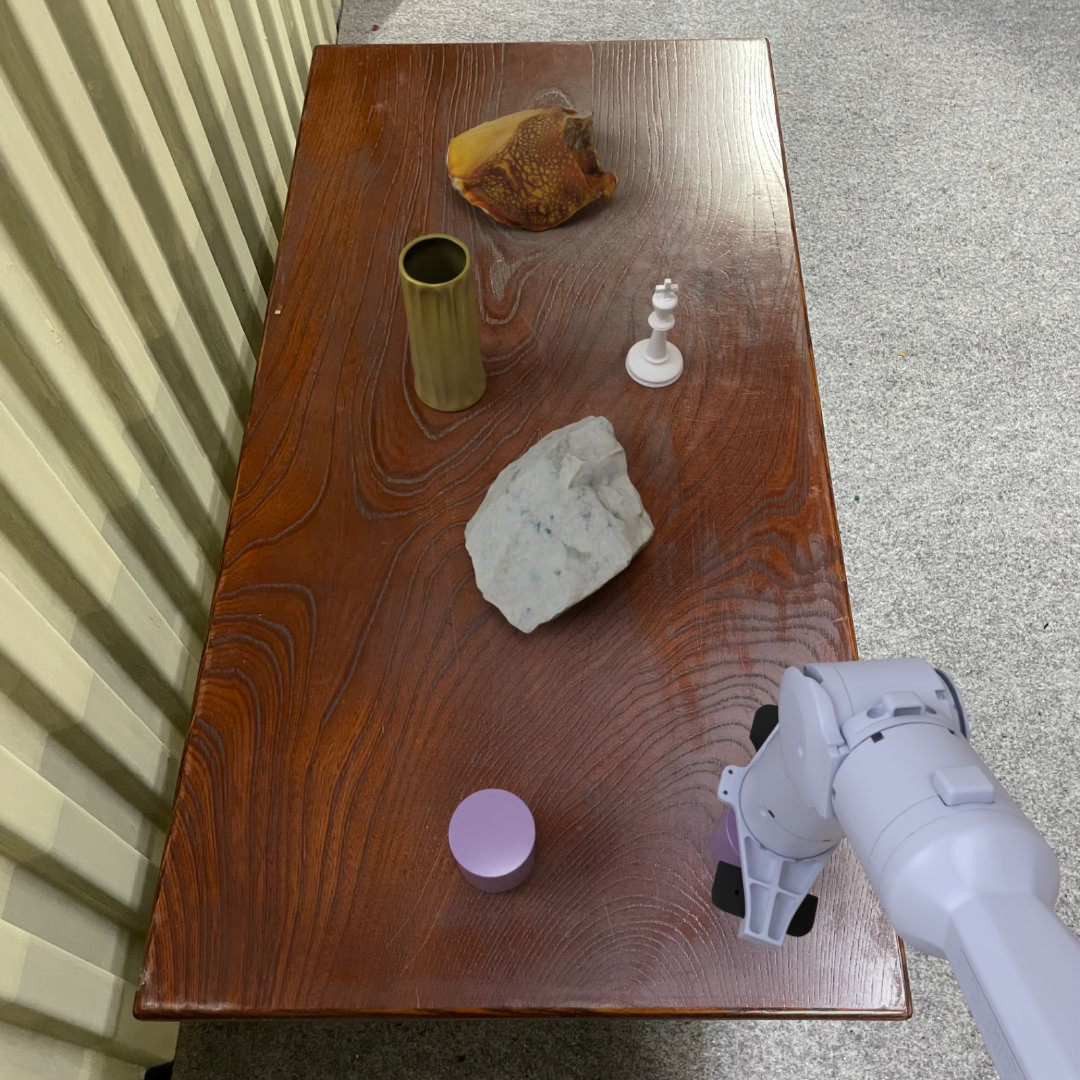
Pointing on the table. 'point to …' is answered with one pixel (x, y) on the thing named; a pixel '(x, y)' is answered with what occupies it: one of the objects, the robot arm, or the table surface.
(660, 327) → the chess piece
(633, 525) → the rock
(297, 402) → the table surface
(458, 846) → the lavender cylinder post
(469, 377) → the vase
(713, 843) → the purple round peg
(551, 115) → the seashell
